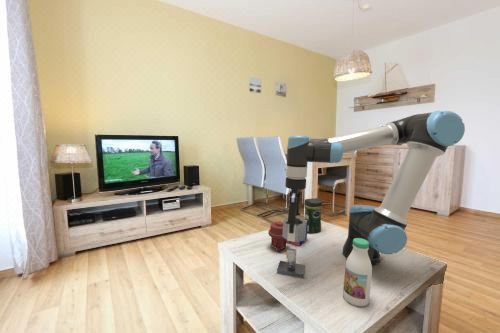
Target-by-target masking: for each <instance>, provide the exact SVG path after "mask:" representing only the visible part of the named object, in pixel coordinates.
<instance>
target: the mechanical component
mask: <svg viewBox="0 0 500 333" xmlns="http://www.w3.org/2000/svg"><path fill="white" fill-rule="evenodd" d="M282 234H283V221H280V220H279V221H273V222H271V224H270V228H269V229H268V236H269V237H270V238H271V242H270V245H271V246H272V247H273V248H275V249H276V251H277V252H280V251H281V250H282V249H284V248H286V247H287V243H286V240H287V239H285V238H284V237H282Z"/></svg>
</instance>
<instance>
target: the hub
mask: <svg viewBox="0 0 500 333" xmlns="http://www.w3.org/2000/svg"><path fill="white" fill-rule="evenodd" d="M282 222H283V234H282V237H284V238H285V239H287V235H288V224H286V222H288V217H285V218H284V219H283V221H282ZM306 224H307V221H305V220H304V218H299V217H298V218H296V232H295V242H300V241H304V240H305V237H306ZM305 241H306V240H305ZM305 241H304V242H305Z"/></svg>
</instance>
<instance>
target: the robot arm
mask: <svg viewBox="0 0 500 333" xmlns="http://www.w3.org/2000/svg"><path fill="white" fill-rule="evenodd" d="M465 129H466V128H465V123H464V122H463V119H462V117H461V116H460V115H459V114H458V113H456V112H454V111H451V110H450V111H449V110H436V111H432V112H425V113H417V114H412V115H410V116H406V117H403V118H401V119H397V120H393V121H390V122H387V123H386V124H385V125H383V126H378V127H373V128H369V129H363V130H360V131H356V132H351V133H345V134H342V135H337V136H334V137H329V138H324V139H320V140H313V141H311V140H310V137H309V136H308V135H293V134H292V135H290V136H289V137H288V140H287V148H286V149H287V150H286V167H284V171H285V176H286V178H285V183H284V185H285V186H284V187H285V188H287V189H290V191H289V193H288V194H289V195H288V200H289V201H288V216H287V218H288V222H286V224H288V235H287V241H293V242H295V232H296V218H299V216H301V212H300V202H301V196H302V195H301V194H302V193H301V190H305V189H306V188H307V179H306V178H307V176H308V164H309V163H324V164H325V163H326V164H328V163H329V164H334V163H335V164H336V163H337V164H338V163H340V162H341V161H342V159H343V157H344V154H346V153H351V152H356V151H361V150H365V149H371V148H375V147H379V146H384V145H388V144H389V145H390V146H396V145H403V144H404V145H405V144H406V145H407V148H408V150H407V153H406V154H405V156H404V158H403V160H402V162H401V164H400V166H399V168H398V170H397V172H396V174H395V175H394V178H393V180H392V182H391V184H390V186H389V188H388V190H387V192H386V193H385V196H384V198H383V200H382V202H381V204H380V205H379V206H373V205H368V204H367V205H366V204H354V205H351V206H350V210H349V213H348V214H349V217H348V229H347V230H348V232H347V238H346V240H345V242H344V244H343V246H342V253H341V254H342V255H343V256H344V257H345V258H346V259H347V258H348V257H349V255H350V254H351V252H352V250H353V239H355V238H362V239H365V240H367V241H368V242H369V247H368V248H369V249H368V256H369V259H370V261H371V265H372V266H374V265H375V266H376V265H378V264H379V263H380V262H381V254H383V255H393V254H397V253H398V252H401V251H402V250H403V249H404V248H405V247H406V245H407V243H408V236H407V233H406V231H405V230H406V227H407V226H408V222H407V220H406V217H407V214H408V213H409V211H410V209H411V208H412V205H413V203H414V201H415V199H416V198H417V195H418V193H419V192H420V190H421V188H422V186H423V184H424V183H425V182H424V181H425V180H426V178H427V176H428V175H429V172H430V170H431V168H432V167H433V164H434V162H435V161H436V159H437V158H438V157H440V156H443V155H444V154H446V152H447V149H448V148H449V147H450V146H454V145H455V144H458V143H459V142H460V141H461V140H462V139H463V137H464V134H465V131H466V130H465ZM380 253H381V254H380Z"/></svg>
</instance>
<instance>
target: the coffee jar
mask: <svg viewBox="0 0 500 333" xmlns="http://www.w3.org/2000/svg"><path fill="white" fill-rule="evenodd" d="M303 206H304V218H303V220H305V221H308V225H307V234H308V233H309V234H316V233H319V232H321V231H322V221H321V220H322V212H321V211H322V209H323V201H322V199H321V198H318V197H314V198H312V197H311V198H305V199H304V203H303Z"/></svg>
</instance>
